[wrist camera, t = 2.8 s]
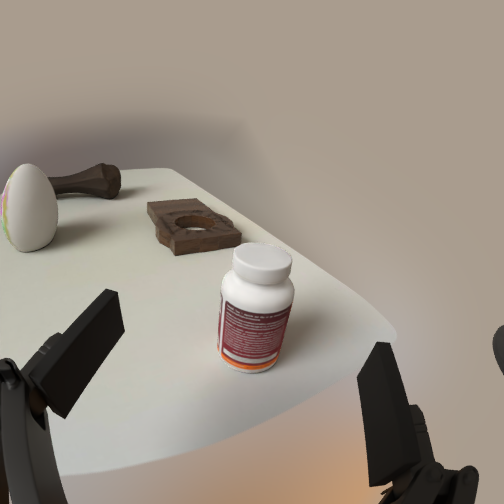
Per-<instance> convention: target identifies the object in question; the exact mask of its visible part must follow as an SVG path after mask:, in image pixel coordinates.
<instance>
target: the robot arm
mask: <svg viewBox="0 0 504 504" xmlns="http://www.w3.org/2000/svg"><path fill="white" fill-rule="evenodd" d="M124 332H125V329H124V325H123V320H122V314H121V309H120V303H119V297H118V292H116V291H112V290H109V289H105V290H104V291H103V292H102V293H101V294H100V295H99V296H98V297H97V298H96V299H95V300H94V301H93V302H92V303H91V304H90V305H89V306H88V307H87V309H86V310H85V311H84V312H83V313H82V314H81V315H80V316H79V317H78V318H77V319H76V320H75V321H74V322H73V323H72V324H71V326H70V327H69V328H68V329H67V330H66V331H65V332H64V333H63V334H61V333H59V332H58V333H56V334H54V335H53V336H51V337H49V338H48V340H47V341H46V342H45V343H44V344H43V346H41V347H40V348H39V350H38V351H37V352H36V353H35V354H34V355H33V356H32V358H31V359H30V360H29V361H28V362H27V363H26V365H25V366H24V367H23V368H22V369H21V370H19V369H18V367H17V365H16V364H15V362H14V361H13V360H12V359H10V358H4V359H1V360H0V504H9V492H10V496H11V500H12V504H68V503H67V500H66V497H65V494H64V490H63V487H62V484H61V480H60V476H59V473H58V469H57V465H56V460H55V456H54V451H53V446H52V441H51V435H50V429H49V422H48V414H47V411H46V408H47V406H49V407H50V408H51V410H52V411H53V412H54V413H56V414H57V415H59V416H60V417H62V418H64V419H66V417H67V415H68V414H69V412H70V411H71V409H72V408H73V406H74V404H75V403H76V401H77V400H78V398H79V397H80V395H81V394H82V392H83V391H84V389H85V388H86V386H87V385H88V383H89V382H90V380H91V379H92V377H93V376H94V374H95V373H96V371H97V370H98V369H99V367H100V366H101V364H102V363H103V361H104V360H105V358H106V357H107V356H108V354H109V353H110V351H111V350H112V349H113V347H114V346H115V344H116V343H117V342H118V340H119V339H120V337H121V336H122V335H123V333H124ZM357 382H358V388H359V395H360V401H361V408H362V416H363V423H364V432H365V440H366V450H367V460H368V474H369V486H370V487H374V486H382V485H386V484H388V483H389V482H391V481H392V484H393V486H392V487H390V488H388V489H386V490H385V491H383V492H382V493H381V495H383V494H385V493H386V494H385V496H384V497H383V498H382V500H381V501H380V502H379V504H474V503H475V498H476V493H477V487H478V482H479V474H478V471H477V469H476V468H475V467H473V466H466V467H464V468H462V469H461V470H459V471H458V470H448V469H444V467H443V466H442V465H441V464H440V463H438V462H436V461H435V459H434V456H433V451H432V447H431V442H430V438H429V434H428V432H427V426H426V424H425V419H424V415H423V412H422V411H421V410H420V408H419V407H418V406H417V405H409V403H408V399H407V396H406V393H405V389H404V385H403V382H402V379H401V375H400V372H399V369H398V366H397V363H396V360H395V357H394V354H393V351H392V348H391V345H390V343H386V342H376V344H375V346H374V348H373V350H372V351H371V353H370V355H369V357H368V359H367V360H366V362H365V364H364V366H363V367H362V369H361V371H360V373H359V374H358V376H357Z"/></svg>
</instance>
